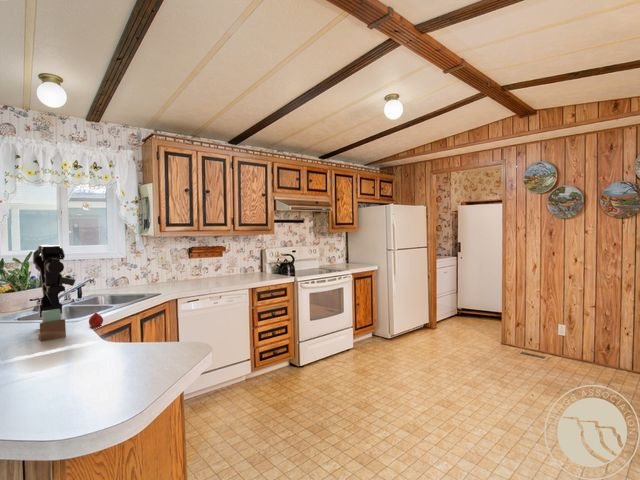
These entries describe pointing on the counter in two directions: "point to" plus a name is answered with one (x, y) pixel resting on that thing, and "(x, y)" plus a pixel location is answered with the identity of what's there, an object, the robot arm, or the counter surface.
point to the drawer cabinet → (52, 330)
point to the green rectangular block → (51, 315)
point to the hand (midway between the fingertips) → (54, 305)
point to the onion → (95, 320)
